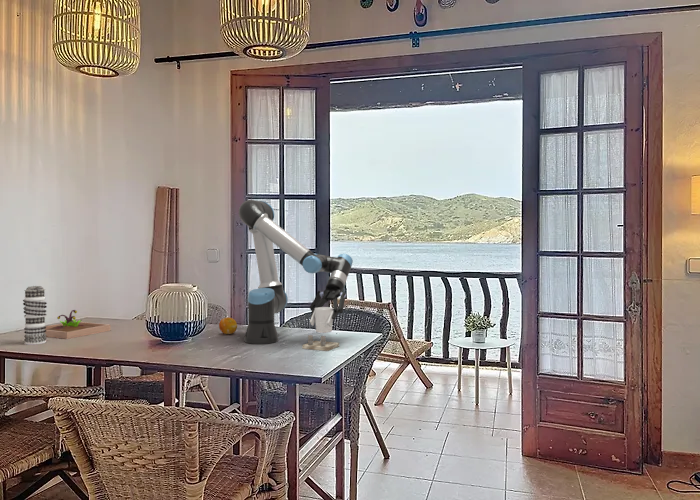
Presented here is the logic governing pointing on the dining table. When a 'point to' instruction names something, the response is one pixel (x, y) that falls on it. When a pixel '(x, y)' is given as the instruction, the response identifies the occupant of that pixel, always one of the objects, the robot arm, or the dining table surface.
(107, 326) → the planter tray
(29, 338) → the decorative candle
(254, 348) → the dining table surface
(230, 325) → the fruit
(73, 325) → the plant
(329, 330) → the white cup
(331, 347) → the board
